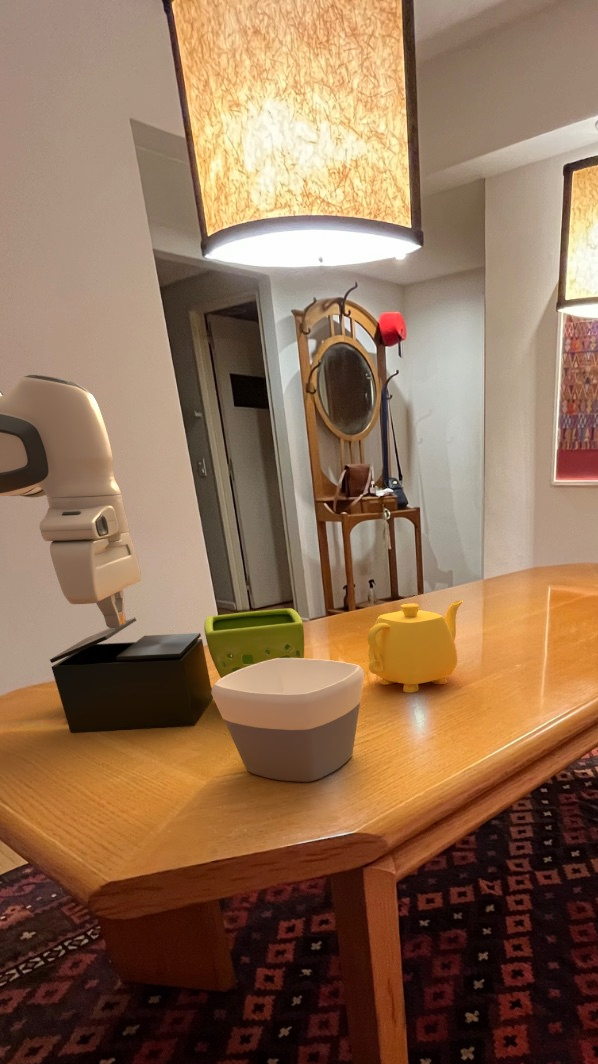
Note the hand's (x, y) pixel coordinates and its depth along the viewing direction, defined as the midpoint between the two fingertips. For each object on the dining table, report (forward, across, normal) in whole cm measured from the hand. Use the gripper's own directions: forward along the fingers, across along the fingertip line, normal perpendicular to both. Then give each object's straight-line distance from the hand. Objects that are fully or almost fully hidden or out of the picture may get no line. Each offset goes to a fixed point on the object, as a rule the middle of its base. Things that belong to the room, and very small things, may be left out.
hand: (117, 625), depth 95 cm
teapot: (+14, -10, +43) cm, 46 cm away
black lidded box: (+13, 0, +1) cm, 13 cm away
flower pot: (+14, -4, +18) cm, 23 cm away
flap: (+2, 0, -3) cm, 4 cm away
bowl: (+14, +23, +26) cm, 37 cm away
